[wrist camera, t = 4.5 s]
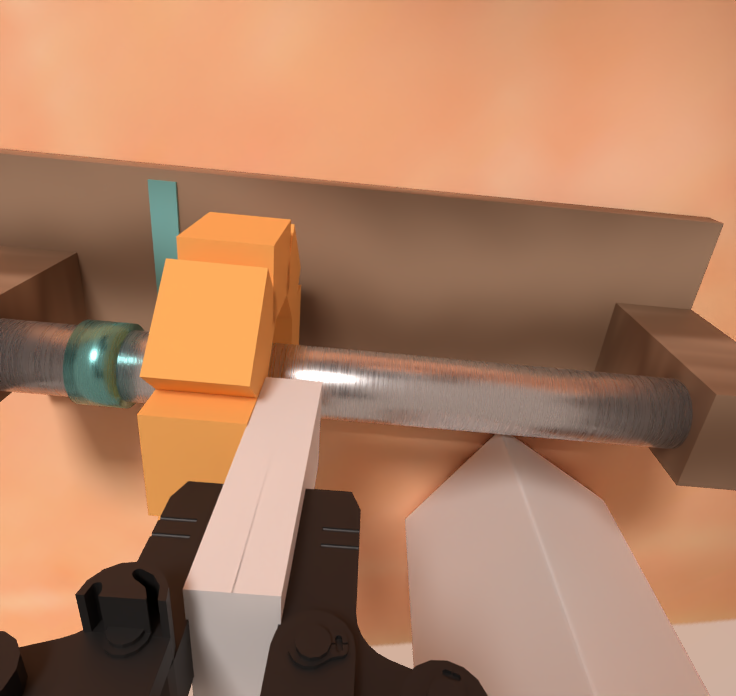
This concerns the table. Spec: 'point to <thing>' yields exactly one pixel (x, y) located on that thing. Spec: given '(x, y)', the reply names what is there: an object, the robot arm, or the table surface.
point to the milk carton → (536, 586)
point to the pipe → (370, 386)
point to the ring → (214, 345)
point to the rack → (394, 274)
